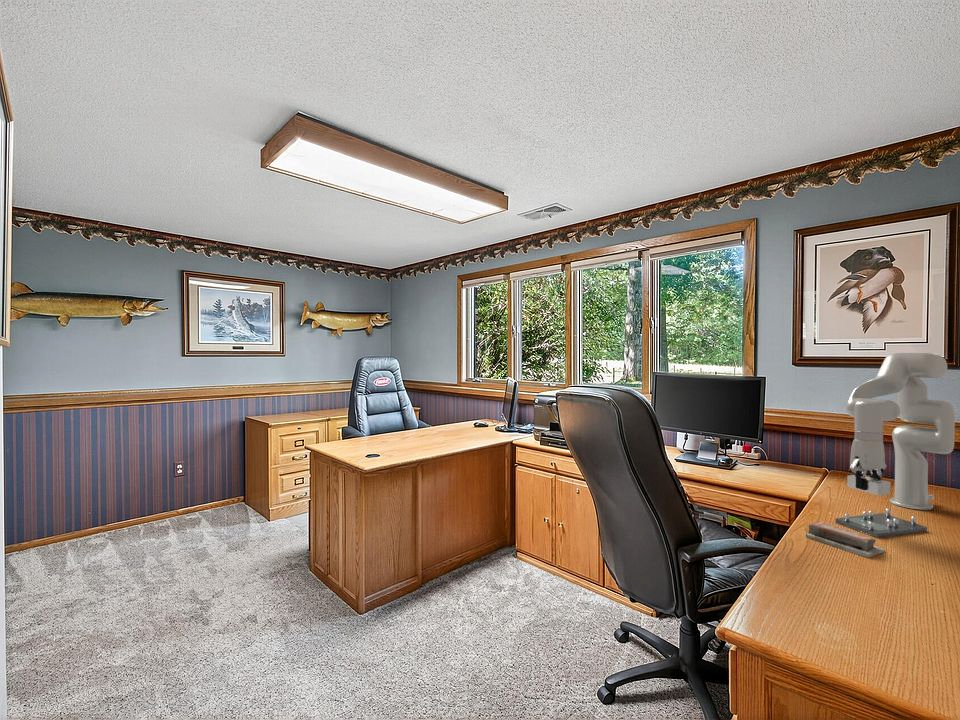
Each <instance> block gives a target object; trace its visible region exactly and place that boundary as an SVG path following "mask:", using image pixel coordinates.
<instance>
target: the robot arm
mask: <svg viewBox="0 0 960 720" xmlns="http://www.w3.org/2000/svg"><path fill="white" fill-rule="evenodd" d="M947 371H948V363H947V360H946V359H945V357H943V356H941V355H939V354H938V355H937V354H935V353H934V354H933V353H929V352H927V353H926V352H896V353H890V354H889V355H887V356H886V357H884V360H883V362H882V364H881V366H880V367H879V370H878V372H877V373H876V374H877V375H876V376H875V377H874V378H872V379H870V380H868V381H865V382H863V383H862V384H860V385H858V386H856V387H855V388H854V389H853V391H852V392H851V394H850V396H849V398H848V400H847V402H846V413H847V414H848V416H850V417H851V418H853V419H854V439H853V440H852V444H851V448H850V457H849V458H850V459H849V465H850V466H849V470H850V471H851V472H852V473H853V475H854V476H855V477H856V488H858V489H862V490H867V479H865V476H867V473H868V471H870V474H869V477H871V478H875V479H879V480H882V477H883V473H884V471H885V469H887V464H886V455H885V454H886V453H885V446H884V422H891V421H894V420H896V419H897V418H898V419H900V421H903V422H908V423H915V424H922V425H932V426H935V428H933V427H925V426H916V425H899V426H896V427H895V428H893V430H892V433H891V434H892V435H891V437H892V444H893V447H894V497H890V498H889V502H890V503H891V504H893V505H895V506H898V507H902V508H906V509H911V510H912V509H913V510H919V511H929V510H931V511H932V510H933V509H934V505H933V504H932V503H930V502H929V500H930V501H931V500H935V498H936V497H935V495H934V494H928V488H929V487H928V486H929V485H928V482H929V477H928V475H929V471H928V470H929V464H928V460H927V459H926V458H925V456H924V455H923V454H922V453H923V452H925V453H930V454H931V453H932V454H939V455H948V454H952V452H953V451H954V448H955V437H956V436H955V432H956V431H955V426H956V425H955V424H956V421H955V420H956V419H955V418H956V416H955V414H956V413H955V408H954V407H953V405H952V404H951V403H950V401H949V402H948V401H946V400H938V399H929V398H928V386H927V384H926V383H925V381H923V380H922V378H923V379H924V378H925V379H927V378H928V379H929V378H930V379H940V378H943V377H944V376H945V375H946V373H947ZM893 394H897V402H895V401H893V400H890V399H883V398H882V399H880V398H878V397H885V396H889V395H893ZM921 452H922V453H921Z"/></svg>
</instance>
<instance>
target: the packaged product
mask: <svg viewBox="0 0 960 720" xmlns="http://www.w3.org/2000/svg"><path fill="white" fill-rule="evenodd" d="M804 537H806V538H808V539H811V540H815V541H816V540H817V542H819V541H820V543H823V544H826V545H827V546H828V545H829V546H831V547H833V548H837V549H840V550H843V551H846V552H848V553H852V554H855V555H859V556H862V557H865V558H868V559H869V558H873V557H874V555H875V556H878V555H880V554H882V553H884V551H886V549H885V548H883V547H879V546H878V545H875V543H876V539H875V538H874V537H871V536H870V537H869V536H866V535H864V534H861V533H860V534H859V533H858V532H853V531H850V530H848V529H846V528H845V529H844V528H842V527H839V526H836V525H835V526H834V525H832V524H829V523H827V522H822V521H817V522H812V523H810V524H808V532H805V534H804ZM877 554H878V555H877Z"/></svg>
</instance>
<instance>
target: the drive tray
mask: <svg viewBox="0 0 960 720" xmlns="http://www.w3.org/2000/svg"><path fill="white" fill-rule="evenodd" d="M891 514H892V513H891V508H886V509H885V513H884V512H878V513H874V511H873V510H868V512H867V511H862V515H856V516H855V515H854V516H853V515H852V516H850V514H849V513H844V517H837V518H835V519H834V520H835V522H834V523H836V524H839V525H841V526H843V525H844V527H846V526H847V527H846V528H849V529H852V530H854V529H855V531H857V530H858V532H860V531H862V532H861V533H863V532H864V533H863V534H865V533H867V534H866V535H868V534H870V535H869V536H871V535H872V536H871V537H873V536H875V537H874V538H876V537H877V539H880V538H879V537H881V538H887V536H889V537H895V536H894V535H896V536H901V535H900V534H904V535H910V533H911V534H916V533H917V534H918V532H919V533H925V532H928V526H924V525H922V524H918V523H917V517H916V516H913V515H912V516H911V517H910V518H911V521H908V520H905V519H903V518H900V517H896V516H894V515H891Z"/></svg>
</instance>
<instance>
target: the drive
mask: <svg viewBox="0 0 960 720" xmlns="http://www.w3.org/2000/svg"><path fill="white" fill-rule="evenodd" d="M865 479H867V490H862V489H858V488H856V477H855V476H854V474H853V475H852V474H851V475H847V481H846V482H847V483H846V484H847V486H846V487H847V488H850V489H854V490H857V491H861V492H865V493H869V494H871V495H875V496H883V495H891V481H887V480H882V479H881V480H879V479H875V478H871V477H870V476H867V475H866V476H865Z"/></svg>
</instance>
